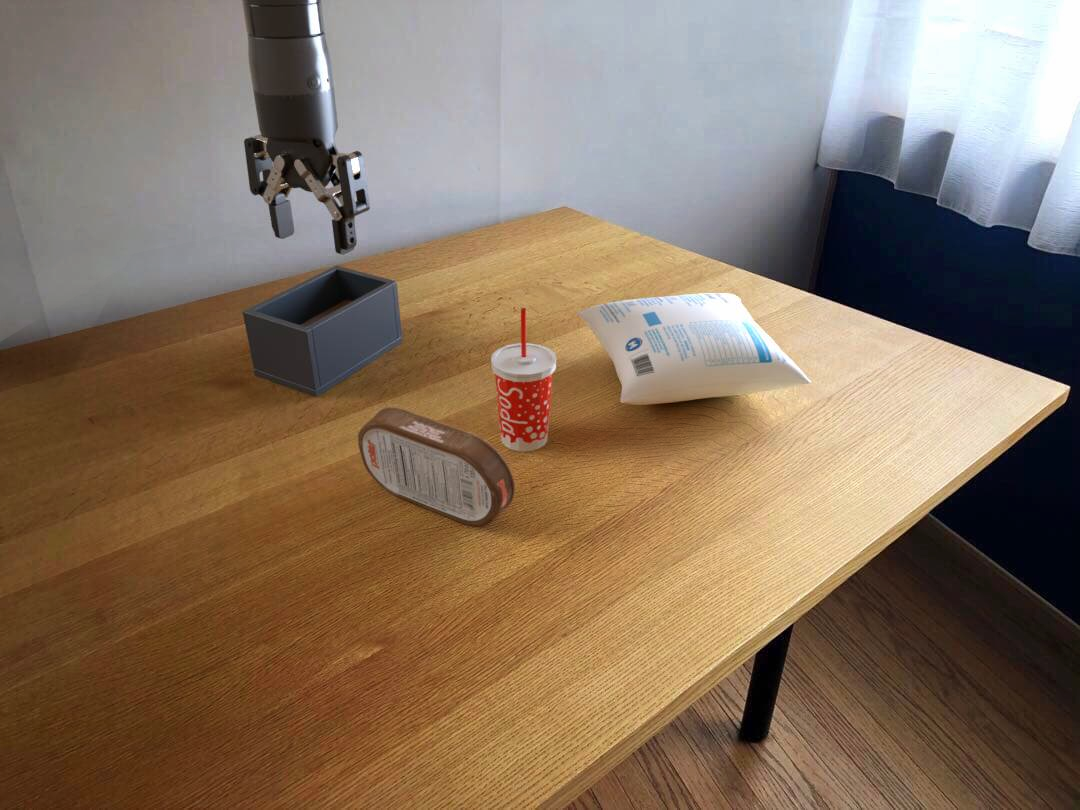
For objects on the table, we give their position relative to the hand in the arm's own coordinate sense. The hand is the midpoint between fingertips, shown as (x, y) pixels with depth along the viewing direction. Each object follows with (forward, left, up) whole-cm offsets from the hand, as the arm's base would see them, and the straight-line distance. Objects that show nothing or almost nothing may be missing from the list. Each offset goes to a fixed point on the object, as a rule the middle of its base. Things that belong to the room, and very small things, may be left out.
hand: (314, 243), depth 91 cm
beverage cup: (+26, -10, -14) cm, 31 cm away
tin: (+21, -22, -14) cm, 33 cm away
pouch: (+40, +6, -14) cm, 42 cm away
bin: (0, 0, -14) cm, 14 cm away
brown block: (0, 0, -13) cm, 13 cm away
